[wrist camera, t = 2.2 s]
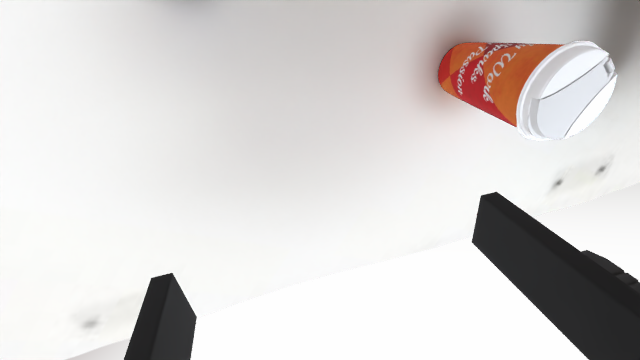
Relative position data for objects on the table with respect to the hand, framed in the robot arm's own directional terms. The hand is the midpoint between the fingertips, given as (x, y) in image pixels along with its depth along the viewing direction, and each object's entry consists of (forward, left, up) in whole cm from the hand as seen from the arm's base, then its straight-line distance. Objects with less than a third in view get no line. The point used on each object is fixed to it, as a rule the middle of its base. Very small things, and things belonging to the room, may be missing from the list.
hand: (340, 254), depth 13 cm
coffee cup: (-15, +17, -25) cm, 34 cm away
